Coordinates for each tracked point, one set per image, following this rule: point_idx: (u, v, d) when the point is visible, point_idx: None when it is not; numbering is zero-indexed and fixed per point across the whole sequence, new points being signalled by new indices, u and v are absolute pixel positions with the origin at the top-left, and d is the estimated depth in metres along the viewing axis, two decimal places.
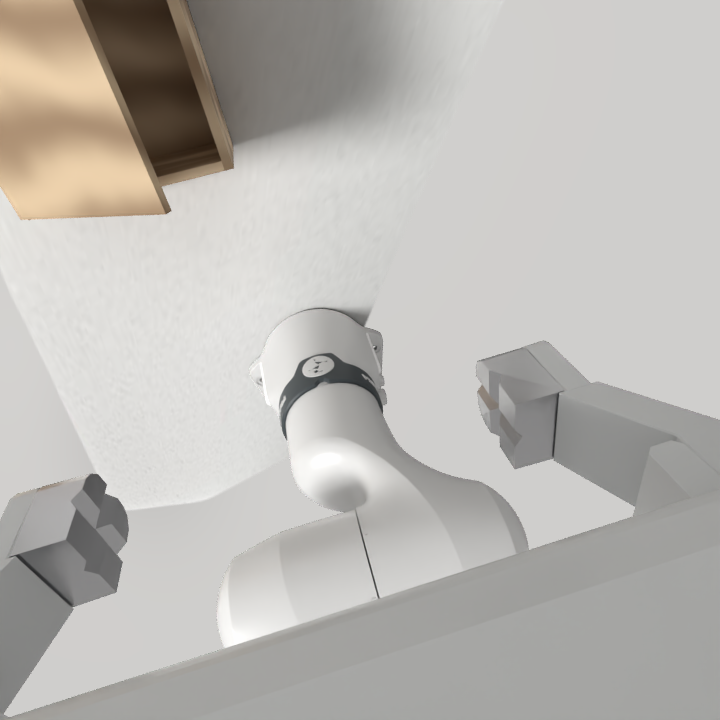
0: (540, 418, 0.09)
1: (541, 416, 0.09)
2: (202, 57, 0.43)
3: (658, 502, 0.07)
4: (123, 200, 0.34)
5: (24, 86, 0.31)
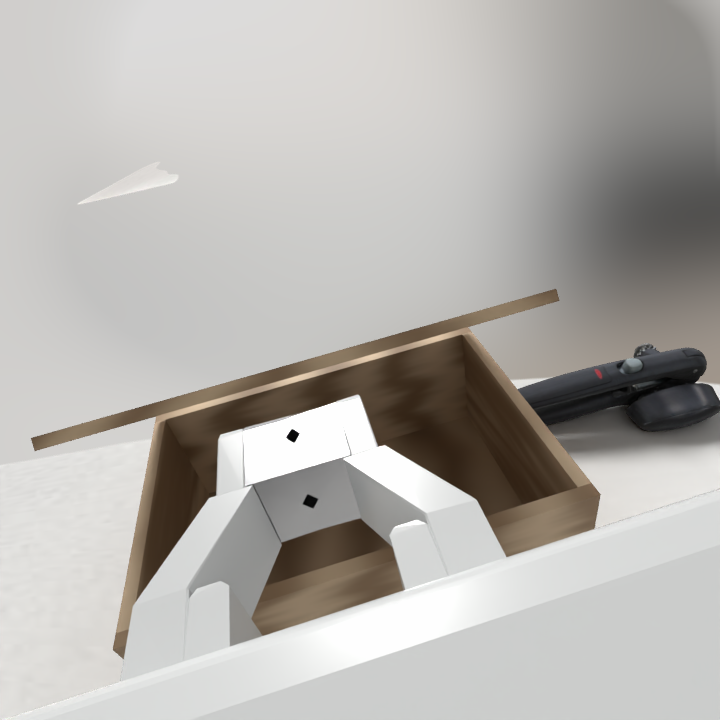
0: (332, 481, 0.09)
1: (332, 479, 0.09)
2: None
3: (402, 584, 0.07)
4: None
5: None
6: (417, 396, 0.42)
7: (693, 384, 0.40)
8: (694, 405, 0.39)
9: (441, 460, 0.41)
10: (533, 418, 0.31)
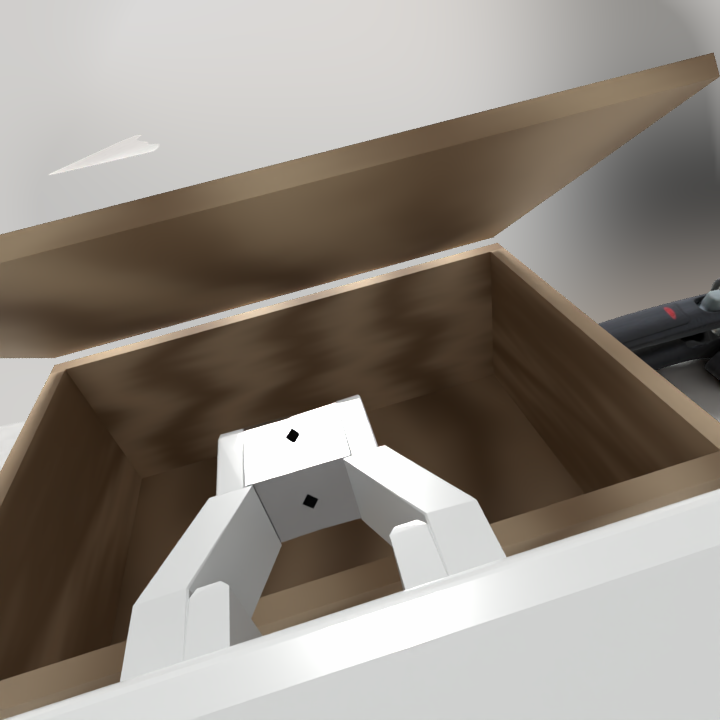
0: (332, 481, 0.09)
1: (332, 479, 0.09)
2: None
3: (402, 584, 0.07)
4: None
5: None
6: (426, 345, 0.31)
7: None
8: None
9: (460, 431, 0.30)
10: (617, 349, 0.19)
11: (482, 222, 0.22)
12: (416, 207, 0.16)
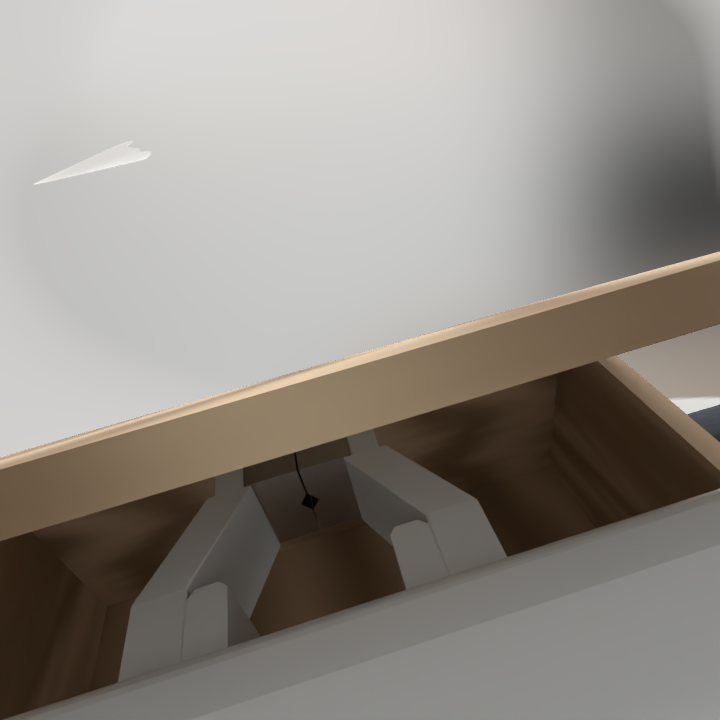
0: (333, 481, 0.09)
1: (333, 479, 0.09)
2: None
3: (403, 584, 0.07)
4: None
5: (90, 433, 0.11)
6: (471, 439, 0.24)
7: None
8: None
9: None
10: None
11: None
12: None
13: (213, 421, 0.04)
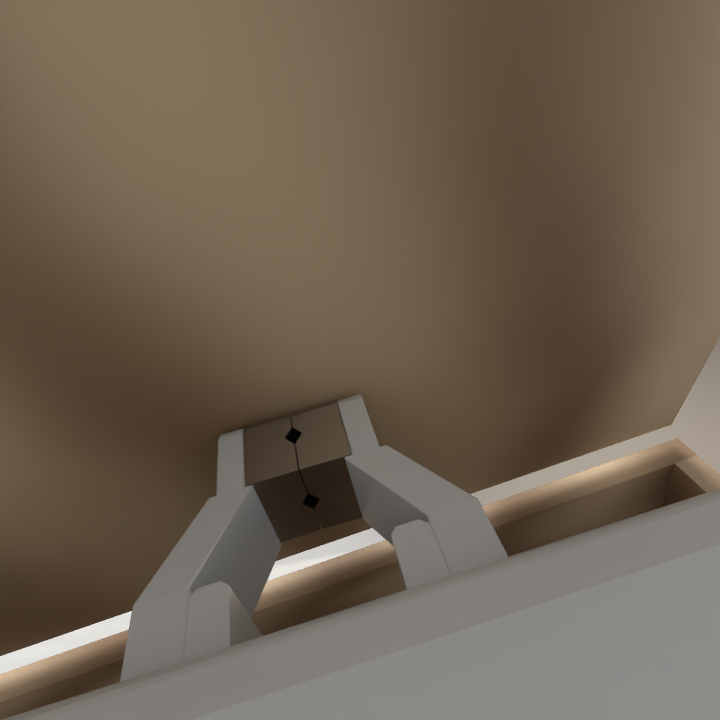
0: (333, 481, 0.09)
1: (334, 479, 0.09)
2: None
3: (404, 584, 0.07)
4: None
5: None
6: None
7: None
8: None
9: None
10: None
11: (650, 322, 0.11)
12: (490, 97, 0.07)
13: None
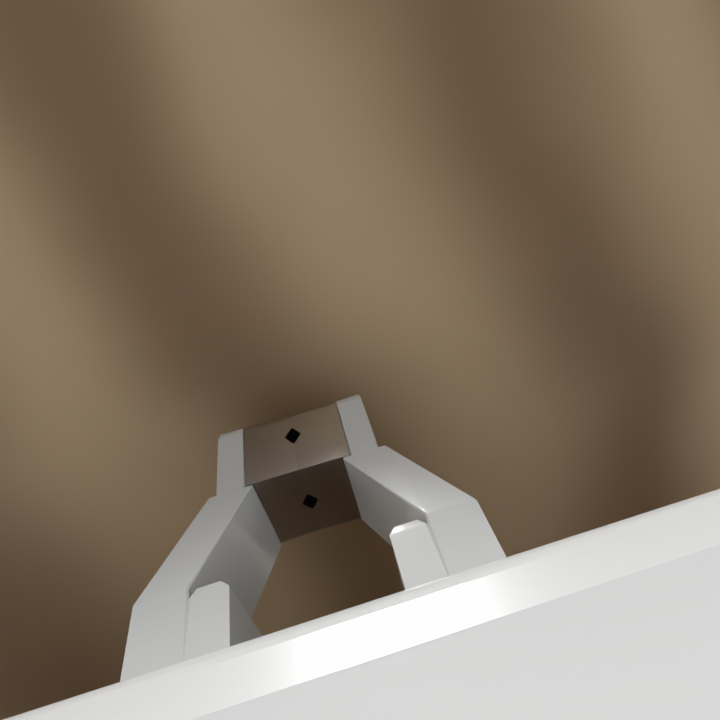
0: (332, 481, 0.09)
1: (332, 479, 0.09)
2: None
3: (402, 584, 0.07)
4: None
5: None
6: None
7: None
8: None
9: None
10: None
11: (688, 310, 0.12)
12: (463, 94, 0.10)
13: None
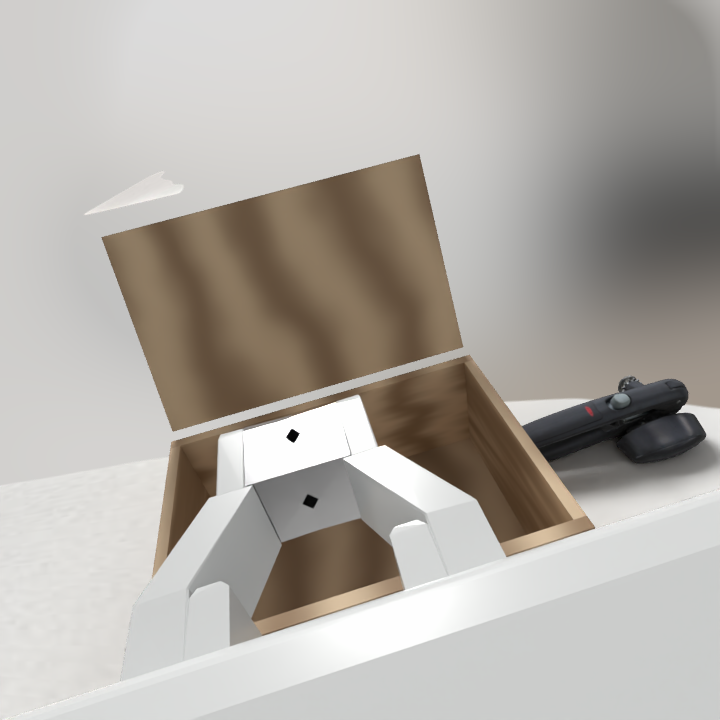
0: (332, 481, 0.09)
1: (332, 479, 0.09)
2: None
3: (402, 584, 0.07)
4: None
5: None
6: (421, 421, 0.44)
7: (677, 414, 0.42)
8: (681, 435, 0.40)
9: None
10: (532, 449, 0.32)
11: (420, 294, 0.40)
12: (350, 237, 0.39)
13: None
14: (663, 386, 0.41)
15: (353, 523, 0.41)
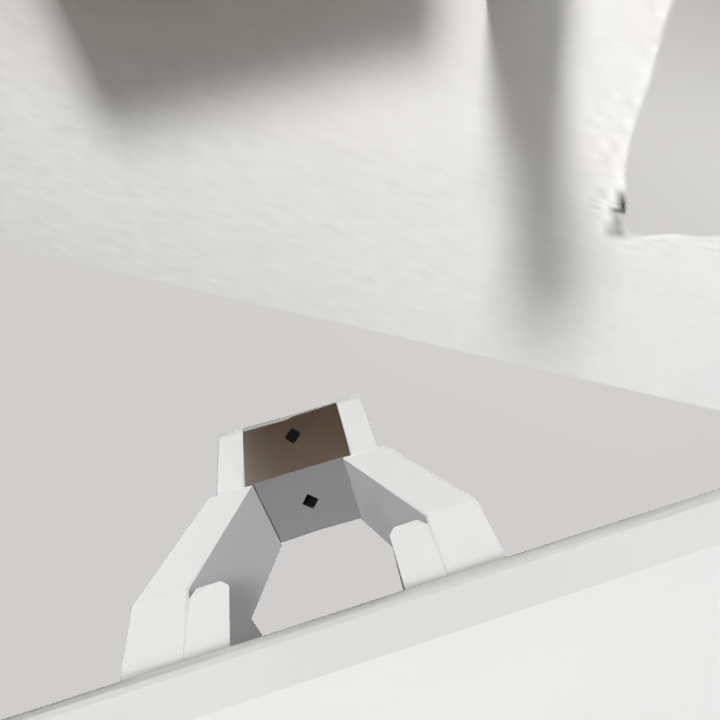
0: (332, 481, 0.09)
1: (332, 479, 0.09)
2: None
3: (402, 584, 0.07)
4: None
5: None
6: None
7: None
8: None
9: None
10: None
11: None
12: None
13: None
14: None
15: None
